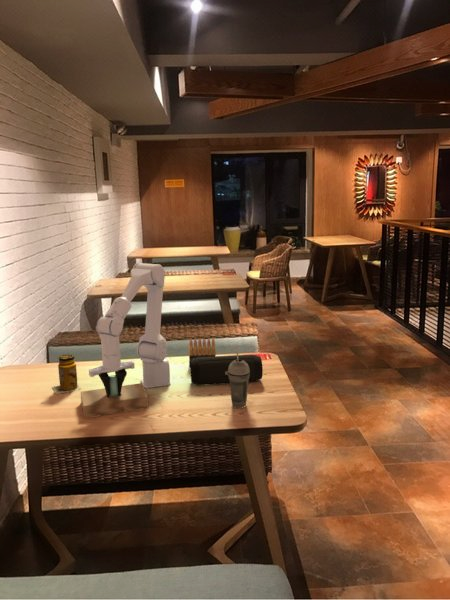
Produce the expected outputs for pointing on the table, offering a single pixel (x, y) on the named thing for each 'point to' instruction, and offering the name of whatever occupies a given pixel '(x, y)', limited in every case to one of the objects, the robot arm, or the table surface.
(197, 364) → the portable speaker
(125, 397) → the hole block
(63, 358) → the condiment
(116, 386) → the peg
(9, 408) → the table surface
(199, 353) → the ammunition clip
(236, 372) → the beverage cup
